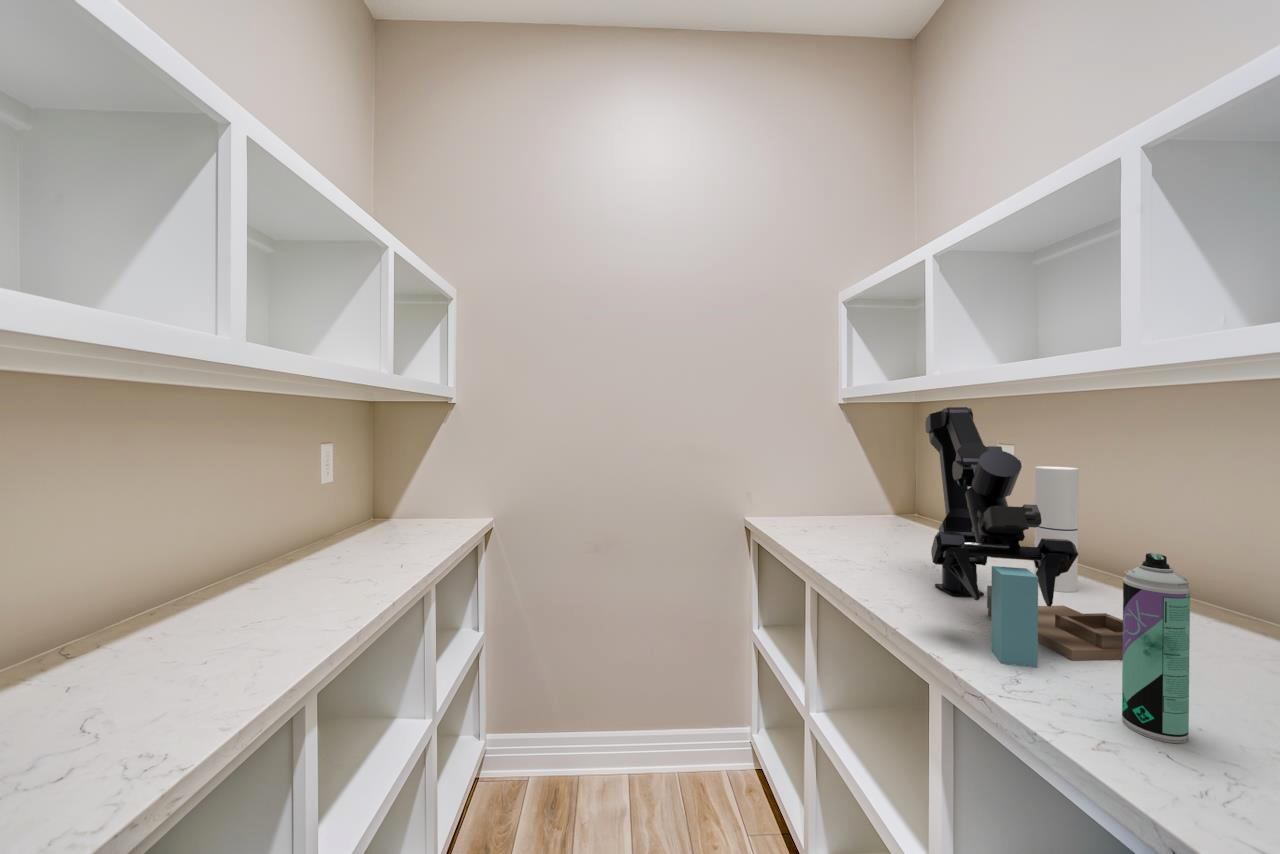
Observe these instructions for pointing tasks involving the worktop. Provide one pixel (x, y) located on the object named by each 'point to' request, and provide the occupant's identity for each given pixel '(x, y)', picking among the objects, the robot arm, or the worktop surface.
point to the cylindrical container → (1058, 514)
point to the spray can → (1156, 651)
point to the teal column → (1014, 616)
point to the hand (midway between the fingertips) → (1013, 602)
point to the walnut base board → (1077, 632)
